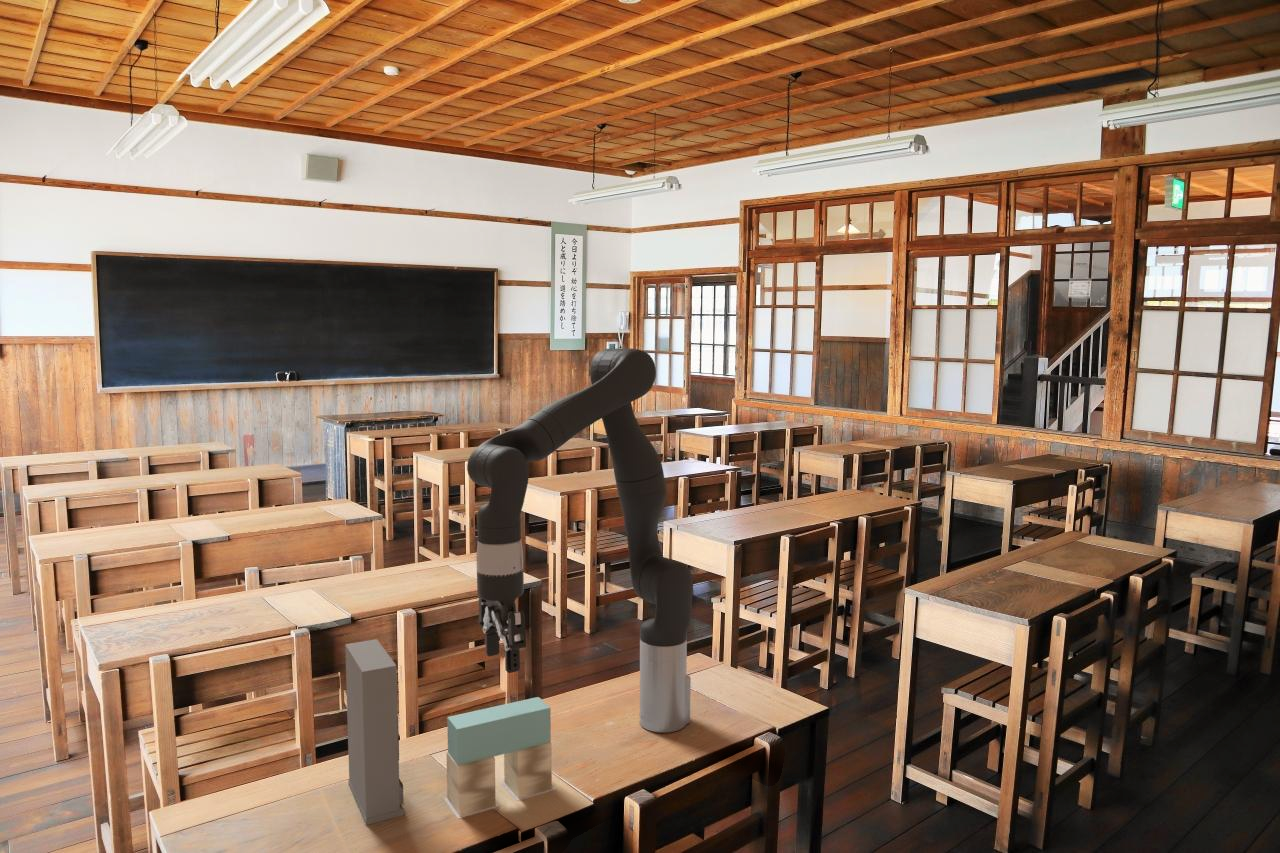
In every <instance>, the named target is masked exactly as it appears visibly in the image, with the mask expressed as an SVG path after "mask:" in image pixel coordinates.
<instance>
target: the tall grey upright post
mask: <svg viewBox="0 0 1280 853" xmlns="http://www.w3.org/2000/svg"><path fill="white" fill-rule="evenodd" d="M344 646H345V647H344V648H345V678H346V679H345V680H346V681H345V682H346V685H345V686H346V714H347V715H346V716H347V718H346V719H347V747H348V748H347V750H348V752H347V754H348V780H347V781H348V786H349V789H350V791H351V793H352V795H353V796H352V797H353V800H354V801H355V803H356V806H357V808H358V810H359V812H360V814H361V817H362V819H363V822H364V824H365V826H368V825H371V824H376V823H379V822H383V821H387V820H390V819H394V818H398V817H401V816H404V815H405V809H404V807H403V805H404V804H405V803H404V785H403V783H402V781H401V779H400V762H399V761H400V741H399V740H400V739H399V737H400V736H399V733H400V732H399V715H398V713H399V712H398V709H399V708H398V707H399V706H398V677H397V676H398V673H397V672H398V671H397V670H398V669H397V665H396V663H395V662H394V660H393V659H392V658H391V656H390V655H389V654H388V652H387V651H386V649H385V648H384V647H383V646H382V644H381V642H380V641H379V640H378V638H376V639H370V640H363V641H359V642H358V641H357V642H352V643H351V642H350V643H346V644H345V645H344Z"/></svg>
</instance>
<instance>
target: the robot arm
mask: <svg viewBox="0 0 1280 853" xmlns="http://www.w3.org/2000/svg"><path fill="white" fill-rule="evenodd" d="M589 377H590V384H591V385H588V387H585V388H583V389H581V390H578V391H576V392H573V393H572V394H570V395H566V396H565V397H562V398H559V399H558V400H555V401H553V402H552V403H550V404H548V405H545V406H544V407H542V408H541V409H540V410H538V411H537V412H535V413H534V414H533V415H531V416H530V417H529V418H527V419H526V420H524V421H523V422H522V423H520V424H519V425H517V426H515V427H514V428H511V429H509V430H506V431H504V432H502V433H499V434H497V435H495V436H493V437H491V438H489V439H487V440H486V441H483V442H482V443H481V444H480V445H478V446H477V447H476V448H475V449H474V450H473V451H472V453H471V454H470V455H469V457H468V460H467V464H466V466H467V467H466V470H467V474H468V476H469V478H470V479H471V481H472V482H474V484H477V485H478V486H481V487H484V488H489V489H490V496H489V502H487V503H485V504H482V505H481V506H480V507H479V508H478V510H477V517H476V524H477V525H476V526H477V527H476V529H477V530H476V531H477V545H476V546H477V547H476V555H475V556H476V558H475V559H476V591H477V593H476V594H477V596H478V625H479V627H481V628H482V631H483V634H484V637H485V642H484V644H485V655H487V657H493V656H498V655H499V653H500V639H502V642H503V645H504V660H505V662H504V663H505V664H504V665H505V669H504V670H505V671H506V672H507V673H508V674H510V673H516V672H518V671H520V669H521V665H520V664H521V663H520V662H521V661H520V659H521V656H520V652H521V651H520V650H521V649H525V648H526V647H527V634H526V632H527V630H526V612H525V610H524V609H523V610H518V609H517V607H516V600H517V599H519V597H521V596H522V595H524V592H525V586H524V581H525V578H524V550H523V545H522V519H521V514H522V510H523V507H524V503H525V498H526V494H527V490H528V484H529V479H530V469H529V464H528V463H530V462H531V463H532V462H539V461H542V460H544V459H546V458H548V457H549V456H550V455H551V454H553V453H554V452H555V451H557V450H558V449H560V448H561V447H562V446H563V445H564V444H566V443H567V442H569V440H571V439H572V438H573V437H576V436H577V435H578V434H579V433H581V432H582V431H583V430H585V429H586V428H588V427H590V426H592V424H595V422H598V421H600V420H602V423H603V427H604V430H605V436H606V440H607V443H608V444H607V445H608V448H609V453H610V457H611V462H612V466H613V473H614V474H613V475H614V480H615V484H616V489H617V490H616V491H617V494H618V499H619V501H620V506H621V512H622V518H623V523H624V528H625V529H624V530H625V534H626V539H627V540H626V541H627V549H628V560H629V562H628V563H629V570H630V571H629V573H630V579H631V585H632V588H633V591H634V593H635V594H636V595H637V597H639V598H640V599H641V600H643V601H645V602H648V603H650V604H653V605H655V613H654V615H655V616H654V618H650V619H646V620H644V621H643V622H642V624H640V628H639V724H640V726H641V727H642V728H644V729H645V730H647V731H650V732H653V733H654V732H655V733H663V734H664V733H665V734H666V733H673V732H676V731H680V730H682V729H683V728H685V727H686V726H687V725H688V724H691V693H692V692H691V690H692V689H691V688H692V686H691V685H692V683H691V682H692V679H691V676H690V675H689V674H688V673H687V668H688V667H687V664H688V663H687V658H688V656H687V655H688V654H687V651H688V650H687V649H688V648H687V647H688V646H687V644H688V642H687V639H688V631H689V628H690V625H691V620H692V610H693V608H692V606H693V593H694V591H693V590H694V586H693V585H694V582H693V575H692V572H691V570H690V568H689V566H688V565H687V564H686V563H684V562H682V561H678V560H675V559H671V558H668V557H665V556H664V555H663V553H662V549H661V546H660V540H659V539H660V538H659V535H658V534H659V532H658V527H659V526H658V525H659V522H660V518H661V517H662V516H661V515H662V514H663V510H664V508H665V504H666V501H667V494H668V493H667V484H666V480H665V473H664V469H663V464H662V461H661V458H660V455H659V454H658V452H657V450H656V448H655V447H654V445H653V443H652V442H651V441H650V439H649V438H648V436H647V435H646V433H645V432H644V431H643V428H642V427H641V426H640V425H639V422H638V421H637V420H638V419H637V418H636V416H635V415H636V414H635V412H634V408H633V404H632V402H635V401H637V400H638V399H640V398H642V397H643V396H645V395H647V393H649V392H650V390H651V389H652V388H653V386H654V383H655V382H656V377H657V369H656V364H655V361H654V359H653V357H652V356H651V355H650V354H649V353H647V352H646V351H644V350H642V349H639V348H632V347H631V348H629V347H628V348H626V347H625V348H621V347H620V348H617V347H616V348H605V349H601V350H599V351H597V353H595V355H594V356H593V358H592V360H591V363H590V368H589Z"/></svg>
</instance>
